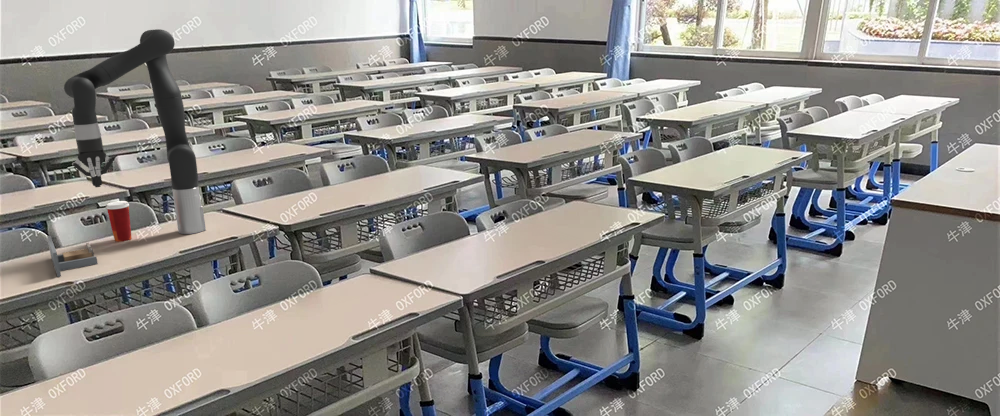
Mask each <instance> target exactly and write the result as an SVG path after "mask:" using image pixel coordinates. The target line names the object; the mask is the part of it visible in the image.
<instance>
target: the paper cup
mask: <svg viewBox="0 0 1000 416" xmlns="http://www.w3.org/2000/svg"><path fill="white" fill-rule="evenodd" d="M129 206H130V204H129V202H128V201H126V200H118V201H111V202H109V203H107V204H106V207H105V209H107V215H108V219H109V222H110V227H111V231H112V234H113V235H112V236H113V239H114V242H117V243H119V242H120V243H122V242H127V241H130V240H131V239H132V228H131V227H132V226H131V218H130V207H129Z"/></svg>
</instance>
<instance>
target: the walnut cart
mask: <svg viewBox="0 0 1000 416" xmlns="http://www.w3.org/2000/svg"><path fill="white" fill-rule="evenodd" d="M85 245H86V248H83V249H78V250H71V251H66V252H62V254H63V258H64V261H65V262H66V261H72V260H77V259H83V258H88V257H93V255H94V254H93V255H92V250H93V248H92V246H91V244H90V242H85Z"/></svg>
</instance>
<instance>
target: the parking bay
mask: <svg viewBox="0 0 1000 416" xmlns="http://www.w3.org/2000/svg"><path fill="white" fill-rule="evenodd" d="M46 238H47V244H48V248H49V249H48V250H49V253H50V258H51V262H52V265H53V268H54V271H55V274H56V276H57V278H59V277H60V276H61V277H62V274H61V271H67V270H72V269H77V268H78V269H79V268H83V267H88V266H95V265H98V258H97V257H98V256H96V255H94V250H93V249H92V255H93V257H88V258H83V259H77V260H72V261H66V262H65V261H64V258H63V253H62V254H61V253H60V254H58V253H57V249H56V247H55V244H54V242H53V239H52V236H51V235H47V237H46Z"/></svg>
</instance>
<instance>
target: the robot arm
mask: <svg viewBox="0 0 1000 416" xmlns="http://www.w3.org/2000/svg"><path fill="white" fill-rule="evenodd" d="M175 43H176V42H175V38H174V37H173V35H172V34H171V33H170V32H169V31H167V30H165V29H158V28H157V29H148V30H145V31H144V32H142V34H141V35H140V39H139V44H137V45H135V46H134V47H131V48H130V49H128V50H125V51H123V52H120V53H117V54H115V55H113V56H111V57H108V58H106V59H105V60H103V61H101V62H100V63H97V64H96V65H94V66H92V68H89V69H86V70H85V71H82V72H80V73H77V74H74V75H73V76H71V77H70V78H68V79H67V80H66V81H65V83H64V85H63V89H64V90H63V91H64V92H65V94H66V95H67V96H68V97H70V98H73V103H74V107H73V108H72V110H71V115H72V116H71V117H72V121H73V127H74V128H73V129H74V135H75V136H74V137H75V141H76V147H77V151H78V155H77V159H76V160H75V161H73V162H72V163H71V165H72V166H73V167H74V168H75V169H77V170H78V171H79V172H80V173H81V174H83V175H84V176H86V177H90V178H91V179H90V180H91V184H92V186H94V187H95V188H100V187H101V186H102V185H103V181H102V176H103V175H105V174H106V173H107V172H108V170H109V168H110V167H111V165H112V164H113V163H114V161H115V160H114V158H113V157H109V156H108V155H107V153H106V152H105V150H104V146H103V145H104V144H103V140H102V132H101V129H100V126H99V123H98V122H99V121H98V115H97V112H96V106H97V105H96V103H97V101H96V100H97V99H96V97H97V96H96V95H97V94H96V89H98V88H99V87H101V88H102V87H104V86H105V87H106V86H108V85H109V84H111V83H113V82H115V81H116V80H118V79H120V78H122V77H123V76H125V75H127V74H129V72H131V71H133V70H134V69H137V68H138V67H139V66H142V65H144V64H146V67H147V71H148V75H149V80H150V84H151V88H152V92H153V93H152V94H153V100H154V104H155V108H156V111H157V115H158V119H159V122H160V124H161V127H162V129H163V133H164V138H165V145H166V148H165V149H166V158H167V161H168V165H169V172H170V179H171V181H170V182H171V189H172V197H173V202H174V203H173V204H174V211H175V216H176V224H177V225H176V226H177V231H178V234H182V235H190V234H191V235H192V234H198V233H200V232H203V231H207V230H206V220H205V214H204V213H205V211H204V208H203V205H202V202H201V195H200V188H199V173H198V166H197V158H196V154H195V152H194V151H193V150H192V147H191V144H190V142H189V139H188V135H187V131H186V125H185V124H186V123H185V122H186V119H185V107H184V106H185V105H184V102H183V97H182V92H181V89H180V86H178V83H177V82H176V80H175V78H174V76H173V74H172V73H171V71H170V70H171V69H170V68H169V64H168V60H167V55H169V54H170V53H171V52H172V51H173V50H174V48H175ZM103 162H105V164H104V165H103V167H102V168H101V165H102V164H103ZM82 164H83V165H84V166H85V167H87V169H88V171H87V170H86V169H84V168H83V167H82Z"/></svg>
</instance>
